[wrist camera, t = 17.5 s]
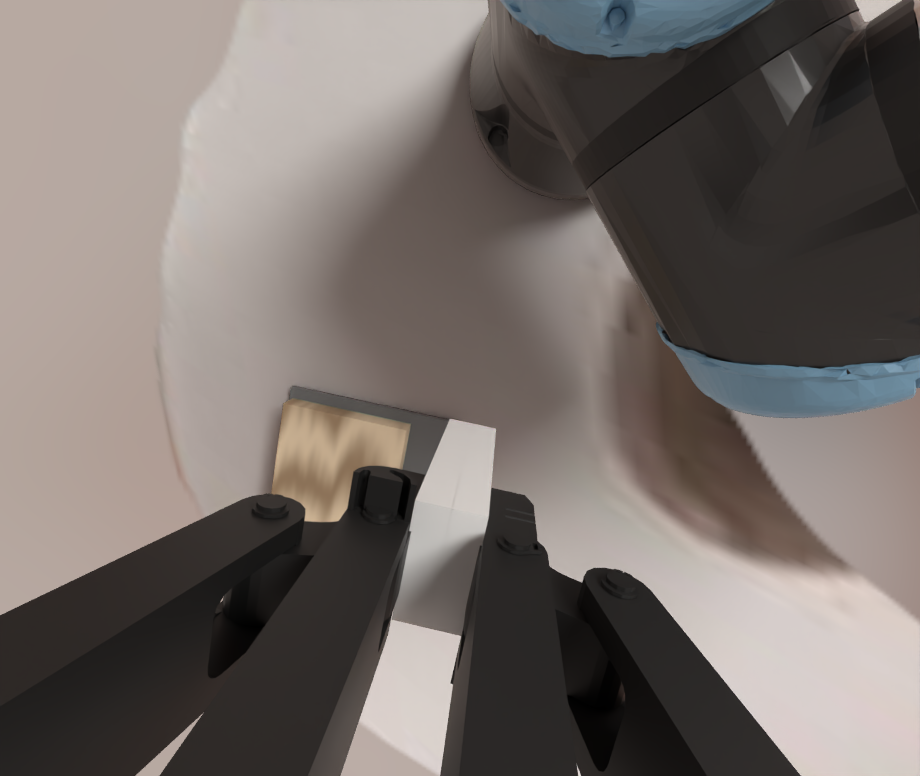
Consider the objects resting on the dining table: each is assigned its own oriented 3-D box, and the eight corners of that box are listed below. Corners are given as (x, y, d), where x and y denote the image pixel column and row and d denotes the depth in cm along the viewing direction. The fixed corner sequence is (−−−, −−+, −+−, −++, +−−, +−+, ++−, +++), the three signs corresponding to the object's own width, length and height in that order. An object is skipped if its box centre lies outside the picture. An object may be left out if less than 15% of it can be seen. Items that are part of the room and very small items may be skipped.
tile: (411, 423, 44) (293, 397, 45) (406, 430, 42) (283, 403, 43) (386, 555, 47) (274, 529, 47) (381, 567, 45) (264, 540, 45)
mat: (293, 385, 45) (290, 387, 44) (457, 421, 44) (457, 423, 44) (272, 537, 48) (269, 540, 47) (426, 572, 47) (425, 576, 47)
